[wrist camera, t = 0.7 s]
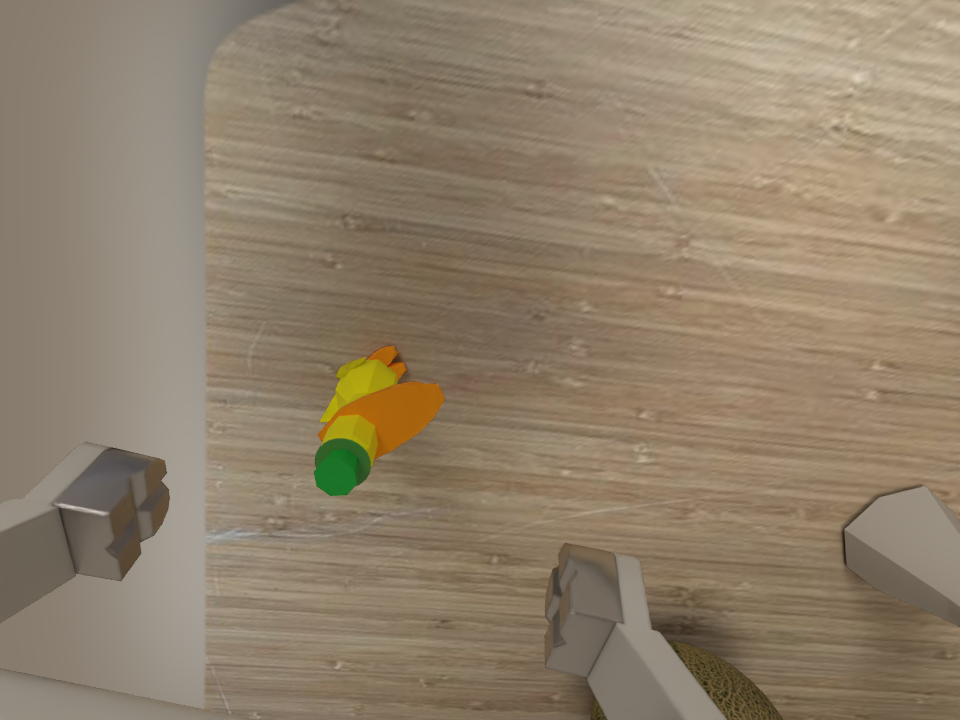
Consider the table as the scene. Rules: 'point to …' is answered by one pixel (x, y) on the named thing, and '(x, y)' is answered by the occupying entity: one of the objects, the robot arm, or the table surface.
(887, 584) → the flask
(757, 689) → the fruit
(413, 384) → the toy figure
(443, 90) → the table surface
